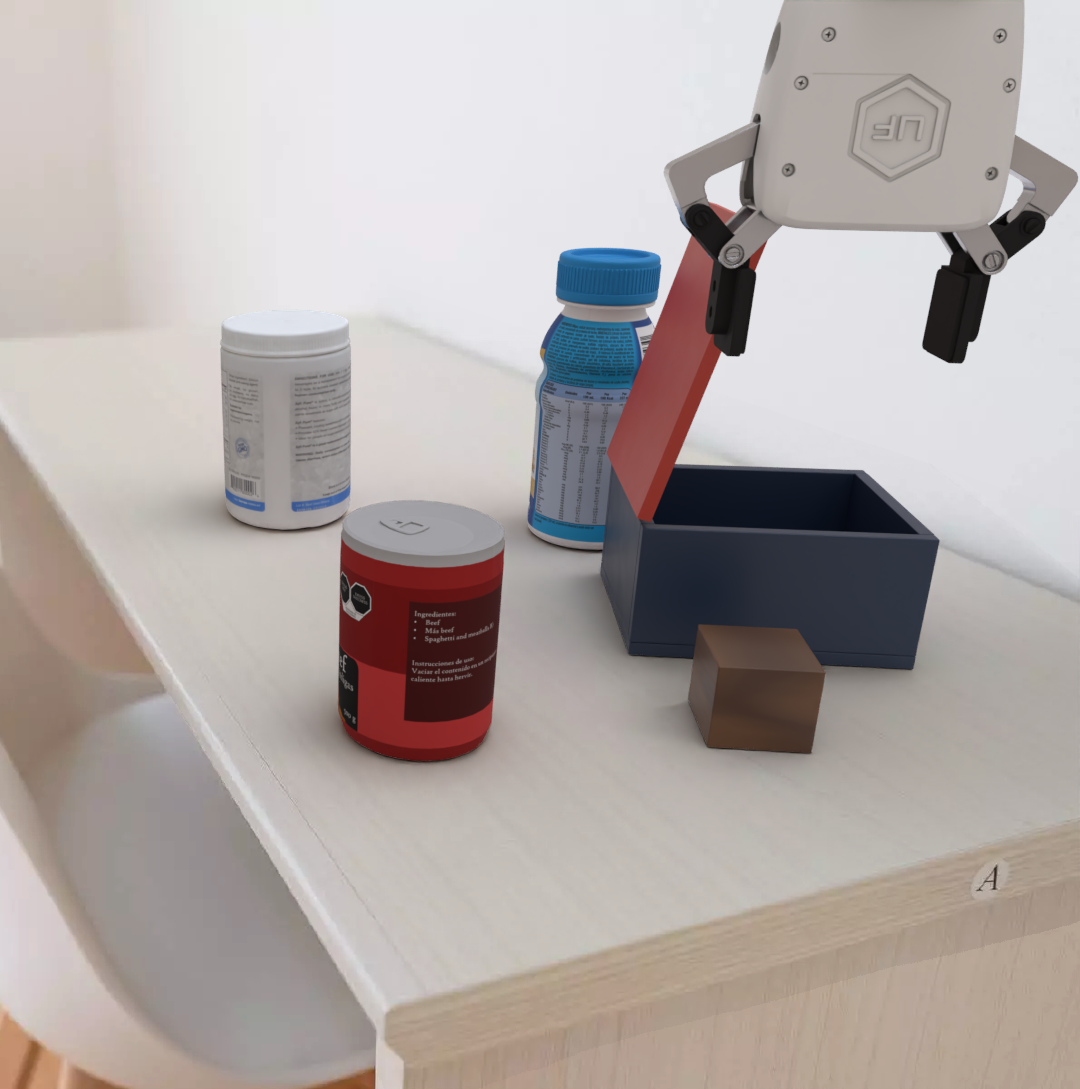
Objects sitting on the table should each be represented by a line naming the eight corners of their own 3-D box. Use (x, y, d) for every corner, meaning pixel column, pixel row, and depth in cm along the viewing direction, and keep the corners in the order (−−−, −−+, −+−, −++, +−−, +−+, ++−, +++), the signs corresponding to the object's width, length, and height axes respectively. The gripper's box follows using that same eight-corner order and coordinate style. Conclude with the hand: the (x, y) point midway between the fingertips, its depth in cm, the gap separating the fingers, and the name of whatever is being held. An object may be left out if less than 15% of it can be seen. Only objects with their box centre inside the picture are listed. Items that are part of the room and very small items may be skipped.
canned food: (368, 678, 68) (374, 490, 64) (510, 709, 65) (525, 512, 61) (312, 742, 62) (314, 537, 58) (466, 779, 58) (479, 565, 54)
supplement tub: (349, 493, 98) (353, 308, 93) (350, 535, 89) (354, 333, 84) (228, 491, 99) (225, 307, 93) (217, 532, 90) (213, 332, 85)
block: (784, 705, 65) (797, 628, 64) (812, 753, 61) (826, 672, 59) (687, 700, 66) (697, 623, 64) (706, 747, 61) (718, 666, 60)
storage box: (843, 583, 81) (863, 469, 78) (913, 669, 69) (940, 539, 66) (600, 572, 83) (611, 461, 80) (628, 655, 71) (642, 528, 68)
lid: (717, 204, 73) (704, 200, 73) (772, 229, 62) (757, 224, 62) (618, 456, 80) (606, 453, 80) (650, 522, 68) (636, 518, 68)
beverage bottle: (549, 557, 85) (574, 263, 78) (508, 516, 93) (527, 246, 86) (664, 549, 86) (699, 260, 79) (614, 510, 94) (641, 243, 87)
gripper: (714, -61, 49) (660, 365, 55) (1179, -60, 47) (1069, 379, 53) (675, -44, 56) (630, 332, 62) (1078, -43, 54) (991, 343, 60)
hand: (833, 353), depth 57 cm, fingers open, 9 cm apart
